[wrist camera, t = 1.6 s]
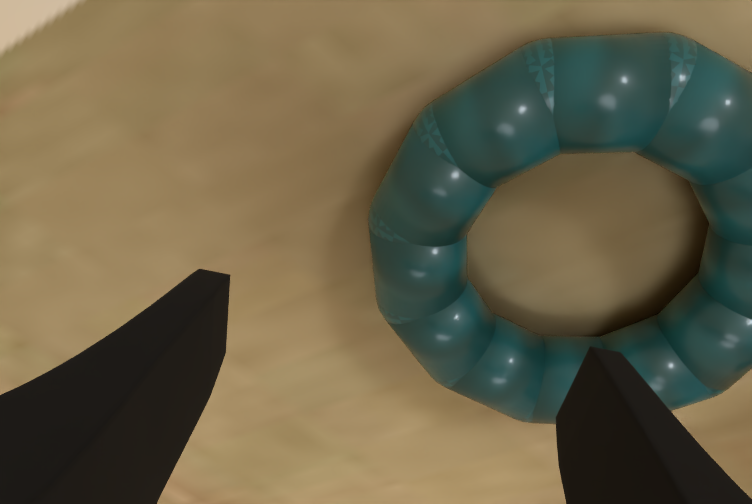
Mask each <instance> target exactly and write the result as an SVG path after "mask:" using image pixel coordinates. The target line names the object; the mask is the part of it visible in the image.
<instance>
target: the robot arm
mask: <svg viewBox="0 0 752 504" xmlns="http://www.w3.org/2000/svg"><path fill="white" fill-rule="evenodd" d="M229 286H230V275H228V274H223V273H218V272H213V271H208V270H203V269H198V270H197V271H195V272H194V273H192V274H191V275H190V276H188V277H187V278H186V279H184V280H183V281H182V282H181V283H179V284H178V285H177V286H176V287H174V288H173V289H172V290H170V291H169V292H168V293H166V294H165V295H164V296H163V297H161V298H160V299H159V300H157V301H156V302H155V303H153V304H152V305H151V306H149V307H148V308H146V309H145V310H144V311H142V312H141V313H139V314H138V315H137V316H135V317H134V318H133V319H131V320H130V321H128V322H127V323H126V324H124V325H123V326H121V327H120V328H118V329H117V330H115V331H114V332H112V333H111V334H109V335H108V336H106V337H105V338H103V339H102V340H100V341H98V342H97V343H95V344H94V345H92V346H91V347H89V348H88V349H86V350H84V351H83V352H81V353H80V354H78V355H76V356H75V357H73V358H71V359H70V360H68V361H66V362H64V363H63V364H61V365H59V366H57V367H56V368H54V369H52V370H50V371H48V372H47V373H45V374H43V375H41V376H39V377H37V378H35V379H33V380H31V381H29V382H27V383H25V384H23V385H21V386H19V387H17V388H15V389H13V390H11V391H8V392H6V393H4V394H2V395H0V504H157V502H158V499H159V497H160V495H161V493H162V491H163V489H164V487H165V485H166V483H167V481H168V479H169V477H170V475H171V473H172V471H173V469H174V467H175V465H176V463H177V462H178V460H179V458H180V456H181V454H182V452H183V450H184V448H185V446H186V444H187V442H188V440H189V438H190V436H191V434H192V432H193V430H194V428H195V426H196V424H197V422H198V420H199V418H200V416H201V414H202V412H203V410H204V408H205V406H206V404H207V402H208V400H209V398H210V395H211V393H212V390H213V387H214V384H215V382H216V379H217V376H218V373H219V370H220V368H221V365H222V362H223V359H224V356H225V353H226V339H227V321H228V304H229ZM556 434H557V449H558V461H559V468H560V474H561V479H562V484H563V489H564V494H565V499H566V504H752V499H751V498H750V497H749V496H748V495H747V494H746V493H745V492H744V491H743V490H742V489H741V488H740V487H739V486H738V485H737V484H736V483H735V482H734V481H733V480H732V479H731V478H730V477H729V476H728V475H727V474H726V473H725V472H724V470H723V469H722V468H721V467H720V466H719V465H718V464H717V463H716V462H715V461H714V460H713V459H712V458H711V457H710V456H709V455H708V453H707V452H706V451H705V450H704V449H703V448H702V447H701V446H700V445H699V443H698V442H697V441H696V440H695V439H694V438H693V437H692V436H691V434H690V433H689V432H688V431H687V430H686V429H685V427H684V426H683V425H682V424H681V423H680V422H679V420H678V419H677V418H676V417H675V416H674V415H673V413H672V412H671V411H670V410H669V409H668V407H667V406H666V405H665V404H664V403H663V402H662V400H661V399H660V398H659V397H658V396H657V394H656V393H655V392H654V391H653V389H652V388H651V387H650V386H649V385H648V383H647V382H646V381H645V380H644V379H643V377H642V376H641V375H640V374H639V373H638V372H637V370H636V369H635V368H634V367H633V366H632V364H631V363H630V362H629V361H628V360H627V359H626V358H625V357H624V356H623V354H622V353H621V352H617V351H612V350H607V349H602V348H597V347H592V346H590V347H589V349H588V351H587V354H586V356H585V358H584V360H583V362H582V364H581V366H580V368H579V370H578V372H577V374H576V376H575V378H574V380H573V383H572V385H571V387H570V389H569V391H568V393H567V395H566V397H565V399H564V401H563V403H562V405H561V407H560V409H559V411H558V414H557V416H556Z"/></svg>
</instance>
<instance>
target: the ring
mask: <svg viewBox="0 0 752 504" xmlns="http://www.w3.org/2000/svg"><path fill="white" fill-rule="evenodd" d="M618 152H635V153H637V154H639V155H641V156H643V157H645V158H647V159H649V160H650V161H652V162H654V163H656V164H658V165H660V166H662V167H664V168H666V169H668V170H669V171H671V172H673V173H675V174H677V175H679V176H681V177H683V178H685V179H686V180H688V181H689V183H690V185H691V187H692V189H693V191H694V193H695V195H696V197H697V199H698V201H699V203H700V205H701V207H702V210H703V212H704V214H705V216H706V218H707V220H708V222H709V227H708V232H707V236H706V241H705V246H704V250H703V255H702V259H701V264H700V268H699V272H698V274H697V275H696V276H695V277H694V278H693V279H692V280H691V281H690V282H689V283H688V284H687V285H686V286H685V287H684V288H683V289H682V290H681V291H680V292H679V293H678V294H677V295H676V296H675V297H674V298H673V299H672V301H671V302H670V303H669V304H668V305H667V306H666V307H665V308H664V309H663V310H662V311H661V312H660V313H659V314H657V315H655V316H652V317H650V318H647V319H644V320H642V321H639V322H637V323H634V324H632V325H629V326H626V327H624V328H621V329H619V330H616V331H614V332H611V333H608V334H606V335H603V336H601V337H586V336H541V335H538V334H535V333H533V332H531V331H529V330H527V329H525V328H523V327H521V326H519V325H517V324H515V323H512V322H510V321H508V320H506V319H504V318H502V317H500V316H498V315H496V314H494V313H492V312H491V310H490V309H489V308H488V306H487V305H486V303H485V302H484V300H483V299H482V298H481V296H480V295H479V293H478V292H477V291H476V289H475V288H474V286H473V285H472V283H471V282H470V281H469V279H468V278H467V232H468V231H469V229H470V228H471V226H472V225H473V223H474V222H475V220H476V219H477V217H478V216H479V214H480V213H481V211H482V210H483V208H484V206H485V205H486V203H487V202H488V200H489V199H490V197H491V196H492V194H493V193H494V191H495V190H496V188H497V187H498V186H500V185H502V184H504V183H506V182H508V181H510V180H512V179H514V178H515V177H517V176H519V175H521V174H523V173H525V172H527V171H529V170H531V169H533V168H535V167H536V166H538V165H540V164H542V163H544V162H546V161H548V160H550V159H552V158H554V157H555V156H557V155H559V154H576V153H618ZM368 221H369V233H370V243H371V253H372V263H373V273H374V282H375V292H376V300H377V304H378V307H379V309H380V312H381V313H382V315H383V317H384V318H385V320H386V321H387V322H388V324H389V325H390V326H391V327H392V329H393V330H394V331H395V332H396V334H397V335H398V336H399V337H400V339H401V340H402V341H403V342H404V344H405V345H406V346H407V347H408V349H409V350H410V351H411V352H412V354H413V355H414V356H415V357H416V359H417V360H418V361H419V362H420V364H421V365H422V366H423V367H424V369H425V370H426V371H427V372H428V374H429V375H430V376H431V377H432V378H433V379H434V380H435V381H436V382H437V383H439V384H441V385H442V386H444V387H446V388H448V389H450V390H452V391H455V392H457V393H459V394H461V395H463V396H466V397H468V398H470V399H472V400H474V401H476V402H479V403H481V404H483V405H485V406H487V407H490V408H492V409H494V410H496V411H498V412H501V413H503V414H505V415H507V416H509V417H512V418H514V419H516V420H519V421H522V422H528V423H545V424H556V416H557V414H558V411H559V409H560V407H561V405H562V403H563V401H564V399H565V397H566V395H567V393H568V391H569V389H570V387H571V385H572V383H573V380H574V378H575V376H576V374H577V372H578V370H579V368H580V366H581V364H582V362H583V360H584V358H585V356H586V354H587V351H588V349H589V347H590V346H592V347H597V348H602V349H607V350H612V351H617V352H621V353H622V354H623V356H624V357H625V358H626V359H627V360H628V361H629V362H630V363H631V364H632V366H633V367H634V368H635V369H636V370H637V372H638V373H639V374H640V375H641V376H642V377H643V379H644V380H645V381H646V382H647V383H648V385H649V386H650V387H651V388H652V389H653V391H654V392H655V393H656V394H657V396H658V397H659V398H660V399H661V400H662V402H663V403H664V404H665V405H666V406H667V407H668V409H669V410H670V411H672V410H675V409H679V408H682V407H685V406H688V405H691V404H694V403H697V402H700V401H703V400H706V399H709V398H712V397H715V396H717V395H719V394H722V393H723V392H724V391H726V390H727V389H729V388H730V387H731V386H732V385H733V384H734V383H736V382H737V381H738V380H739V379H740V378H741V377H742V376H744V375H745V374H746V373H747V372H748V371H749V370H751V369H752V73H751V72H749V71H748V70H746V69H744V68H742V67H740V66H739V65H737V64H735V63H733V62H732V61H730V60H728V59H726V58H724V57H723V56H721V55H719V54H717V53H715V52H714V51H712V50H710V49H708V48H707V47H705V46H703V45H701V44H699V43H698V42H696V41H694V40H692V39H690V38H688V37H685V36H683V35H680V34H675V33H669V32H653V33H634V34H615V35H597V36H578V37H559V38H546V39H540V40H536V41H533V42H530V43H527V44H525V45H524V46H522V47H520V48H518V49H516V50H515V51H513V52H512V53H510V54H508V55H507V56H505V57H504V58H502V59H500V60H499V61H497V62H495V63H494V64H492V65H491V66H489V67H487V68H486V69H484V70H482V71H481V72H479V73H478V74H476V75H474V76H473V77H471V78H469V79H468V80H466V81H465V82H463V83H461V84H460V85H458V86H456V87H455V88H453V89H452V90H450V91H448V92H447V93H445V94H443V95H442V96H440V97H439V98H437V99H435V100H434V101H432V102H431V103H430V104H428V105H427V106H426V107H425V108H424V109H423V110H422V111H421V112H420V113H419V115H418V116H417V118H416V119H415V121H414V122H413V124H412V126H411V128H410V130H409V132H408V134H407V135H406V137H405V139H404V141H403V143H402V145H401V147H400V149H399V150H398V152H397V154H396V156H395V158H394V160H393V162H392V164H391V165H390V167H389V169H388V171H387V173H386V175H385V177H384V179H383V180H382V182H381V184H380V186H379V188H378V190H377V192H376V194H375V196H374V198H373V200H372V202H371V205H370V210H369V217H368Z"/></svg>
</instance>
